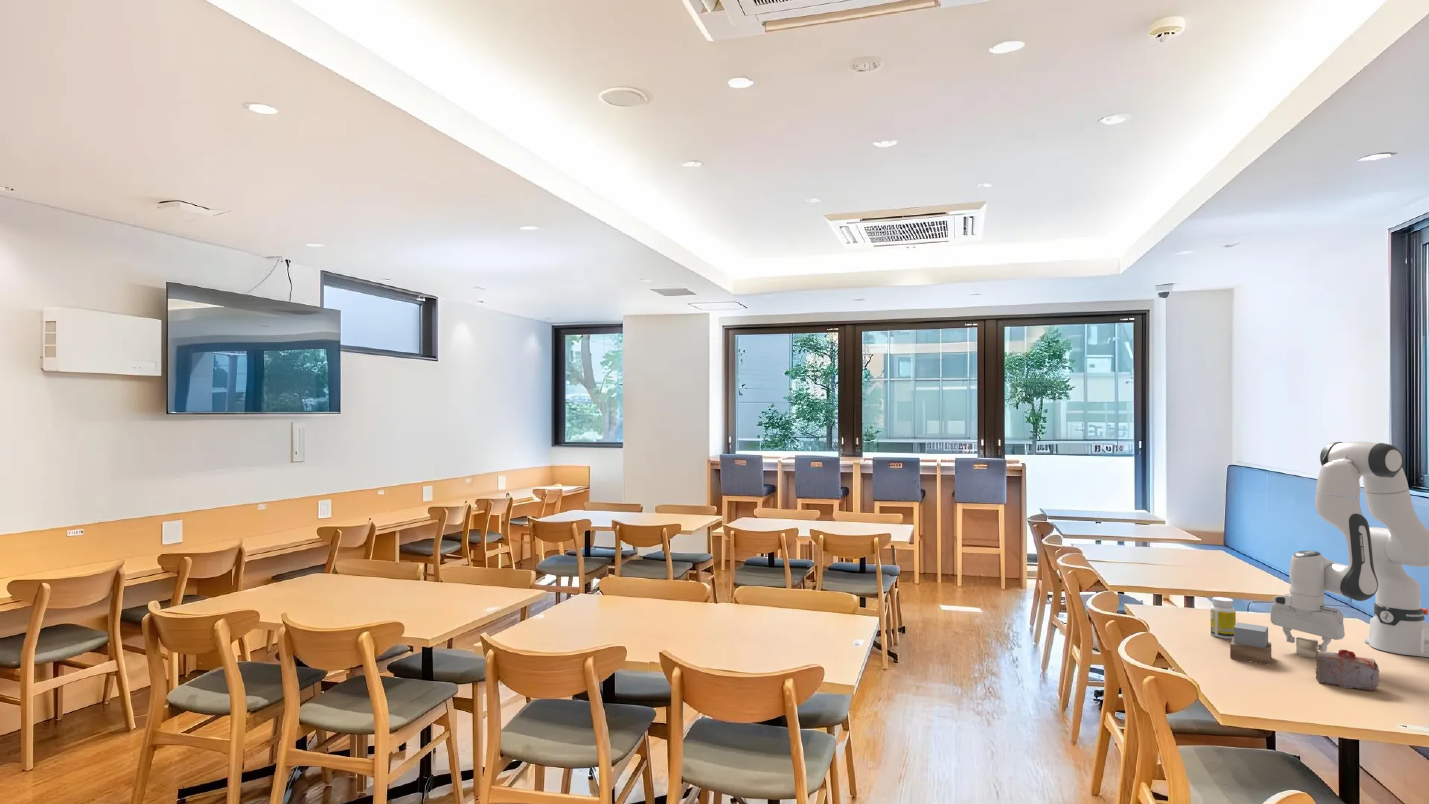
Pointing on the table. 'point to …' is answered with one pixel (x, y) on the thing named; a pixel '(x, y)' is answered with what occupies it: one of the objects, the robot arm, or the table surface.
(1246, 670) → the table surface
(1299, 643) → the beige block
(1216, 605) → the supplement bottle
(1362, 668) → the food item
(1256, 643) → the slate grey top block
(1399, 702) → the table surface
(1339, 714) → the table surface
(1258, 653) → the walnut base block
